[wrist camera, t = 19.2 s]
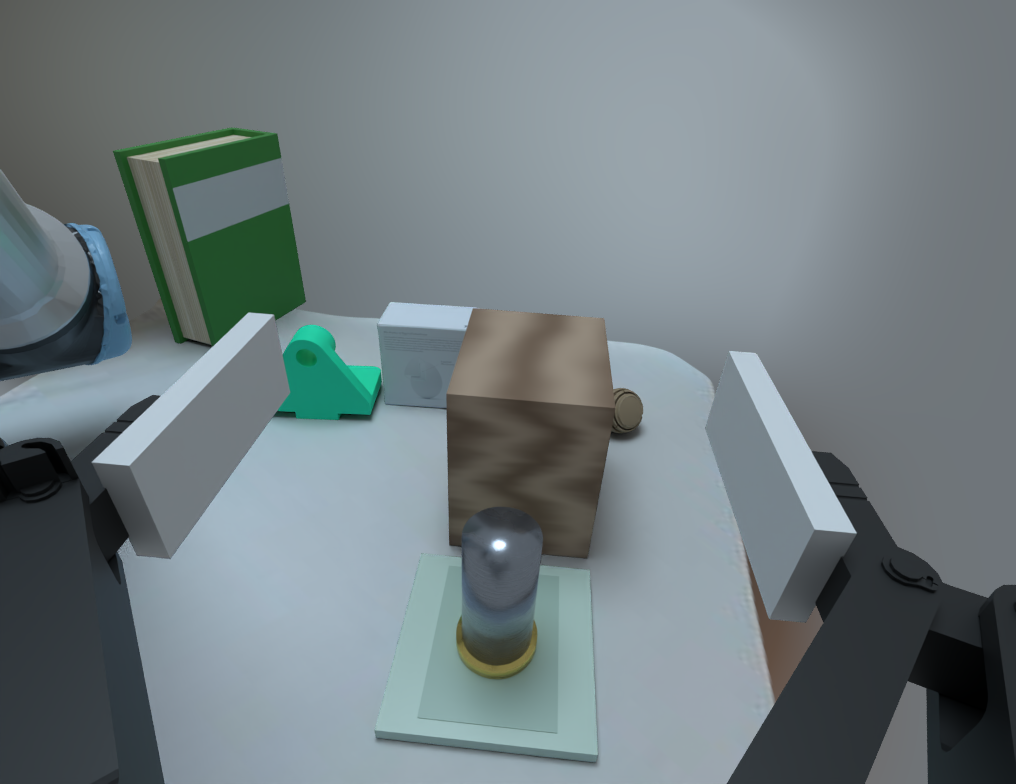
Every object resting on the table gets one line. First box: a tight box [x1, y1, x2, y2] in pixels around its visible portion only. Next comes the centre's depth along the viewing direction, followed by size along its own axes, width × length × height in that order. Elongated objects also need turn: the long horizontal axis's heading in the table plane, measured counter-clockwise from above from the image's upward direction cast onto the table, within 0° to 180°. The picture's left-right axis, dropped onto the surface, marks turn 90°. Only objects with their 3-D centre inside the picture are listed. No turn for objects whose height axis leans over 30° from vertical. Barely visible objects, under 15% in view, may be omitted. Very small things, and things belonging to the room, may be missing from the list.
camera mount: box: [277, 325, 382, 420], centre depth 64 cm, size 12×8×10 cm, turn 90°
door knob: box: [611, 388, 643, 433], centre depth 63 cm, size 5×5×5 cm
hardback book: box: [113, 128, 306, 347], centre depth 75 cm, size 18×7×24 cm, turn 159°
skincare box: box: [377, 302, 478, 408], centre depth 66 cm, size 10×6×10 cm, turn 86°
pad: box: [375, 553, 598, 763], centre depth 41 cm, size 14×14×1 cm
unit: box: [446, 308, 615, 558], centre depth 50 cm, size 13×14×16 cm
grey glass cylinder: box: [456, 507, 543, 679], centre depth 38 cm, size 6×6×11 cm
